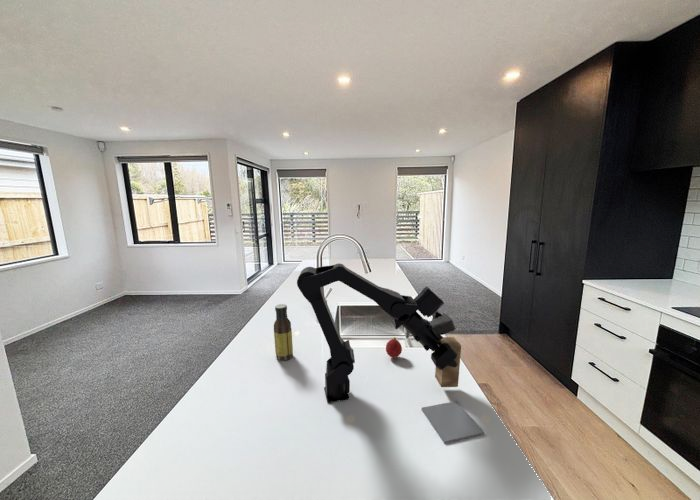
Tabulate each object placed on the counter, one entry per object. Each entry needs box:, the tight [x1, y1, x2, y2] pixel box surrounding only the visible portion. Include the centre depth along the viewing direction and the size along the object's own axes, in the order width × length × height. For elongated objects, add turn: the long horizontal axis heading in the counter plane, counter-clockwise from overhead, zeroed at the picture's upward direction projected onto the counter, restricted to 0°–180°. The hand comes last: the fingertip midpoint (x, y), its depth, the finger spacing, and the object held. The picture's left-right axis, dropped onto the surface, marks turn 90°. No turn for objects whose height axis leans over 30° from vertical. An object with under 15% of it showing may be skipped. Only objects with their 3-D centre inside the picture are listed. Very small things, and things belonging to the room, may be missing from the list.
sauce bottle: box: [273, 303, 294, 362], centre depth 98 cm, size 6×6×20 cm
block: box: [434, 336, 462, 388], centre depth 80 cm, size 5×5×13 cm
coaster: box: [421, 400, 486, 445], centre depth 70 cm, size 11×11×1 cm
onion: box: [385, 336, 403, 359], centre depth 98 cm, size 6×6×8 cm
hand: (452, 360), depth 80 cm, fingers closed on block, 5 cm apart
